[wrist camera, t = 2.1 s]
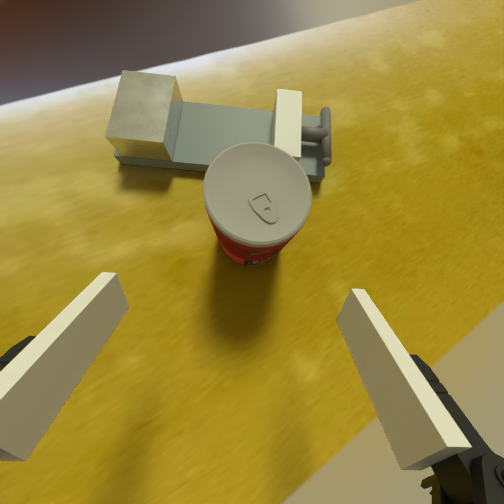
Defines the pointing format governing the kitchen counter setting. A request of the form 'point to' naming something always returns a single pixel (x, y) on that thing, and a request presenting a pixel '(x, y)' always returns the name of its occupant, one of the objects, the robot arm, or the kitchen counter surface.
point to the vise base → (248, 134)
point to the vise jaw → (145, 116)
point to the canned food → (256, 200)
